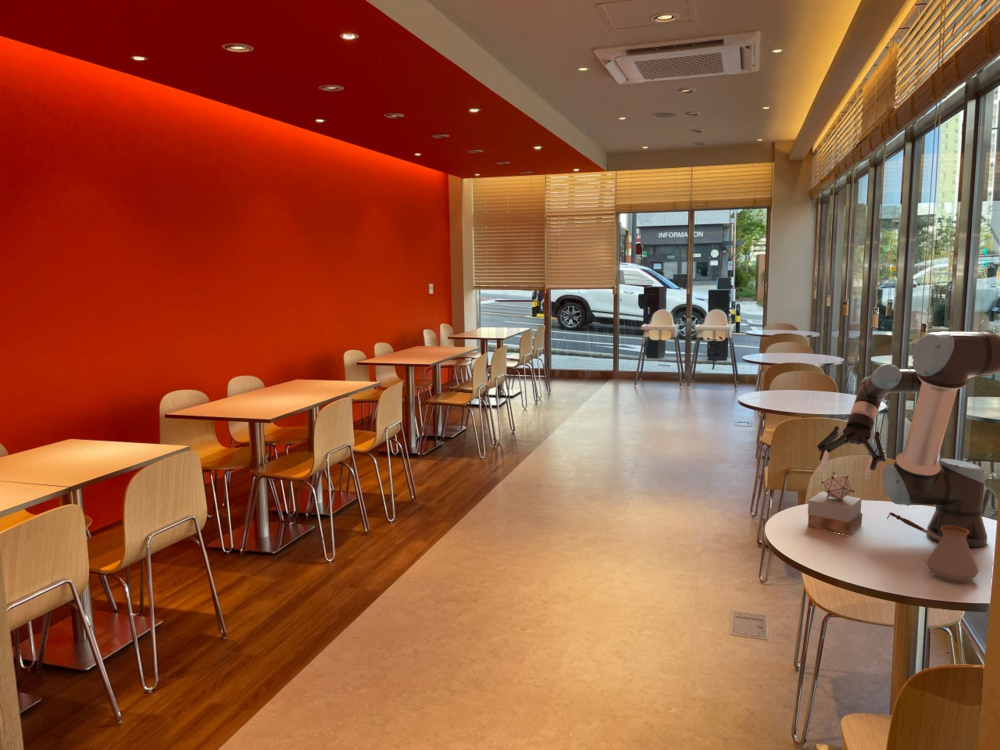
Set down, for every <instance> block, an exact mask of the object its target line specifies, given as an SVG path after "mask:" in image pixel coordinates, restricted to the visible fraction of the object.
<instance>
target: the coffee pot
mask: <svg viewBox="0 0 1000 750" xmlns="http://www.w3.org/2000/svg"><path fill="white" fill-rule="evenodd" d="M890 516H892V517H895V518H896V520H900V521H901V522H902V523H904V524H905V525H907V526H909V527H912V528H913V529H916V530H918V531H921V532H922V533H925V534H926V535H927V534H928V535H930V536H932V537H934V538H936V539H938V540H940V541H939V542H937V544H936V545H935V547H934V549H933V551H932V552H931V554H930V556H929V557H928V559H927V560H926V566H927V569H928V570H929V571H930V573H932V574H933V575H934V577H935V578H937V579H939V580H941V581H945V582H948V583H953V584H965V583H968V582H969V581H971V580H973V579H974V578H976V577H977V575H978V573H979V568H978V566H977V563H976V561H975V558H974V556H973V554H972V552H971V548H969V546H968V543H967V541H966V537H967V535H968V534H969V533H970V532H969V531H968V530H967V529H965V528H962V527H958V526H942V527H941V528H940V529H941V530H942V533H943V536H942V537H940V536H938V535H936V534H933V533H931V532H929V531H927V529H925V528H924V527H922V526H920V525H919V524H916V523H915V522H913V521H912V520H910V519H907V518H904V517H902V516H901V515H899V514H898V515H897V514H896V513H894V512H891V511H890V512H889V513H888V515H887V518H886V519H887V520H888V519H889V518H890Z"/></svg>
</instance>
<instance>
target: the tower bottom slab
mask: <svg viewBox="0 0 1000 750" xmlns="http://www.w3.org/2000/svg"><path fill="white" fill-rule="evenodd" d="M807 515H808V518H807V519H808V521H807V527H808V528H810V527H811V528H810V529H815V528H816V529H815V530H819V529H821V530H820V531H824V530H827V531H826V532H828V531H831V532H830V533H833V532H836V533H835V534H837V533H840V534H839V535H842V534H844V535H843V536H846V535H849V536H851V535H852V534H853V533H854V532H856V531H857V530H858V529H859V528H861V527H862V526H861V525H862V524H863V512H861V513H860V514H858V515H857V516H856V517H855V518H854V519H852V520H851V521H850V522H844V521H839V520H834V519H829V518H824V517H819V516H814V515H809V514H808V513H807ZM860 526H861V527H860ZM858 527H859V528H858ZM857 528H858V529H857ZM856 529H857V530H856ZM855 530H856V531H855ZM853 531H854V532H853ZM852 532H853V533H852ZM851 533H852V534H851Z"/></svg>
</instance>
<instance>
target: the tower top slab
mask: <svg viewBox="0 0 1000 750" xmlns="http://www.w3.org/2000/svg"><path fill="white" fill-rule="evenodd" d="M827 496H828V495H827V492H826V491H820V492H819V493H817V494H816V495H814V496H813V497H810V499H808V501H807V502H808V503H807V515H808V514H809V515H814V516H819V517H824V518H829V519H834V520H839V521H844V522H850V521H851V520H852V519H854V518H855V517H856V516H857V515H858V514H860V513H862V498H860V497H855V496H850V495H846V496H845V497H844V498H842V499H841V500H842V502H841V501H840V499H836V498H833V497H828V498H826V497H827Z"/></svg>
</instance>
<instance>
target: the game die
mask: <svg viewBox="0 0 1000 750" xmlns="http://www.w3.org/2000/svg"><path fill="white" fill-rule="evenodd" d="M832 473H833V474H832V475H831V476H830V477H829V478H827V479H826V480H825V481H820V483H821V484H822V485H823V486H824V489H825V492H827V495H828V496H827V497H826V498H828V497H833V498H836V499H840V501H841V502H842V500H841V499H842V498H844V497H845V496H849V495H850V494H851V493H855V490H852V487H851V485H850V482H849V479H848V478H849V477H850V475H846V476H843V475H839V474H836V472H835V471H833V472H832Z"/></svg>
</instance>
